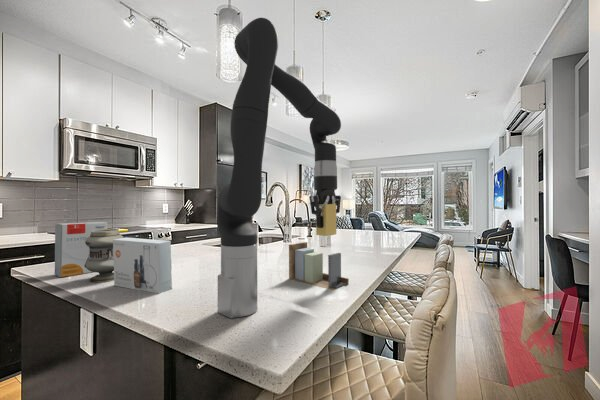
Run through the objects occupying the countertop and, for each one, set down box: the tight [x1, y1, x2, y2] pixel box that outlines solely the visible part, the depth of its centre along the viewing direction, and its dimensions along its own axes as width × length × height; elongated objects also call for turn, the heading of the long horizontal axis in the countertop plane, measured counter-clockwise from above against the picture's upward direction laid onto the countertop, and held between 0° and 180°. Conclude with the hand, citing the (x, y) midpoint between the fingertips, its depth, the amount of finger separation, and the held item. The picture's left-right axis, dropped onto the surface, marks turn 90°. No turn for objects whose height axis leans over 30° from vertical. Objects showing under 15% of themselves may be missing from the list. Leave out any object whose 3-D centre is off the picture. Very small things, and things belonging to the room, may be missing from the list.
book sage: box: [304, 251, 324, 283], centre depth 97 cm, size 6×4×9 cm, turn 137°
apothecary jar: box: [85, 228, 125, 283], centre depth 104 cm, size 12×12×18 cm
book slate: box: [295, 247, 315, 281], centre depth 100 cm, size 6×4×10 cm
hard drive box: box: [54, 221, 108, 278], centre depth 114 cm, size 16×8×20 cm, turn 143°
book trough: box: [288, 241, 350, 291], centre depth 96 cm, size 8×19×13 cm, turn 47°
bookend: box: [327, 252, 347, 290], centre depth 90 cm, size 6×3×10 cm, turn 137°
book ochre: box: [315, 204, 337, 237], centre depth 93 cm, size 6×4×10 cm
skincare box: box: [113, 236, 173, 294], centre depth 93 cm, size 21×6×16 cm, turn 68°
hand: (326, 226), depth 93 cm, fingers closed on book ochre, 5 cm apart
